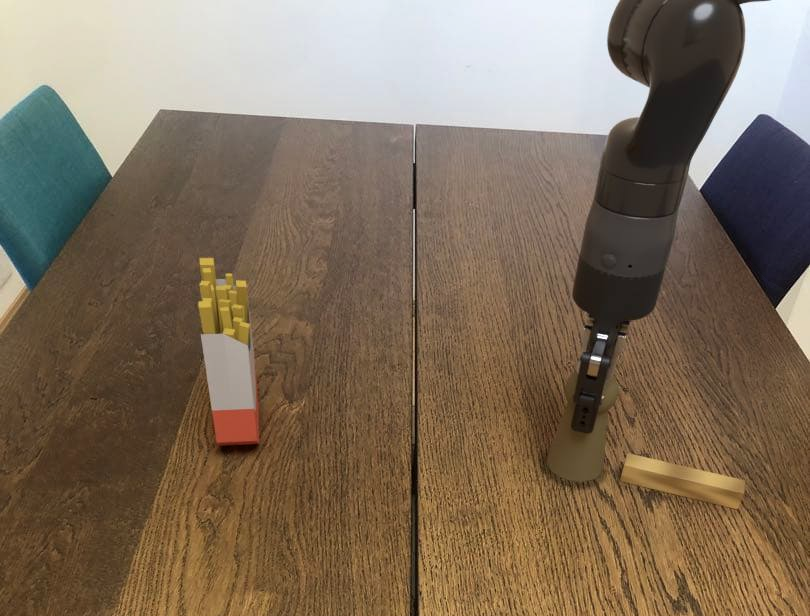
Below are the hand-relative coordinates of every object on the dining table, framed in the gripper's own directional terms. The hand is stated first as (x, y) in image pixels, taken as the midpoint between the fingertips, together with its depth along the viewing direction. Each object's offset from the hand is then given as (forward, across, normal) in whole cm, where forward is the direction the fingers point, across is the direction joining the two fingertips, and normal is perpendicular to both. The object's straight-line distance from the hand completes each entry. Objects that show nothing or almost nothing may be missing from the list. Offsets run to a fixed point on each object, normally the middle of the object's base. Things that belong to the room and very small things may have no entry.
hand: (586, 413), depth 83 cm
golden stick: (+7, 0, -11) cm, 13 cm away
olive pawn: (+7, 0, 0) cm, 7 cm away
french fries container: (+7, -8, +36) cm, 37 cm away
